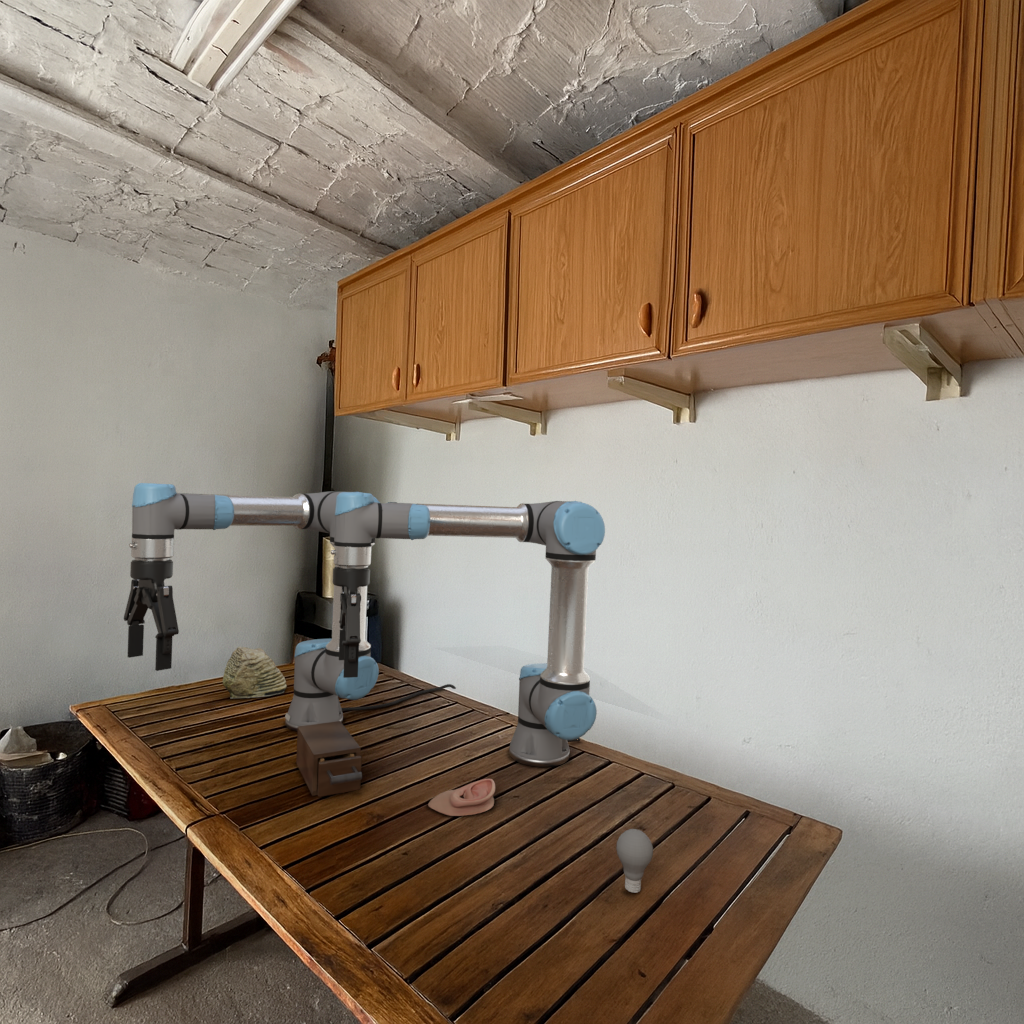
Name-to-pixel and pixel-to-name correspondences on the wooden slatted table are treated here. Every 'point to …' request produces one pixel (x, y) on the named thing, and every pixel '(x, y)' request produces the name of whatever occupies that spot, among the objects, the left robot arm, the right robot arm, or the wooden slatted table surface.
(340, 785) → the drawer
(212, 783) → the wooden slatted table surface
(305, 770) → the cabinet
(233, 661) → the fossil
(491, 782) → the anatomical model
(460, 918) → the wooden slatted table surface
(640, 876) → the light bulb
